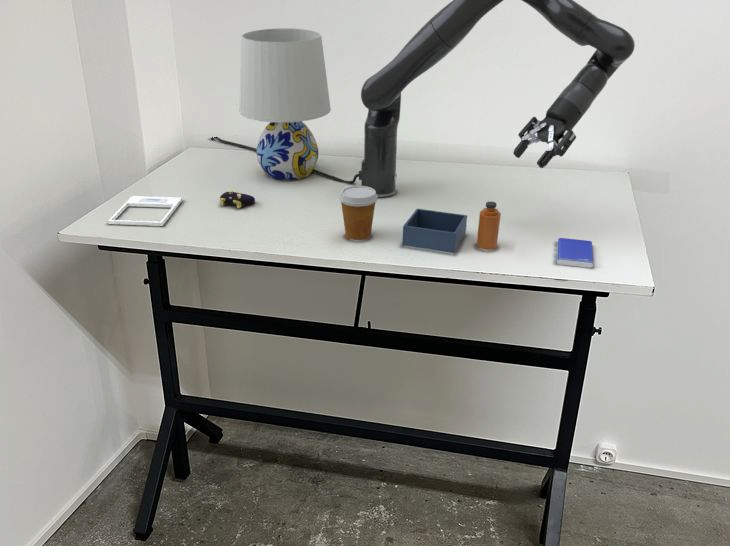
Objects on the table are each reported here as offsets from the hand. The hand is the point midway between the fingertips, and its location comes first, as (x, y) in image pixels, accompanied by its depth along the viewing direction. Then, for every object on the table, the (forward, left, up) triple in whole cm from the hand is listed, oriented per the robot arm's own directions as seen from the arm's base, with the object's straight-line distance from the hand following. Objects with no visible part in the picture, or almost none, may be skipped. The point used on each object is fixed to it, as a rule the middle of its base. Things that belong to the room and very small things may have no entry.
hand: (527, 160), depth 172 cm
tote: (-19, -11, -19) cm, 29 cm away
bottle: (-6, -10, -19) cm, 23 cm away
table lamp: (-75, +23, -20) cm, 81 cm away
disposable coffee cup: (-38, -15, -20) cm, 45 cm away
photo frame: (-98, -20, -19) cm, 102 cm away
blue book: (+15, -7, -20) cm, 26 cm away
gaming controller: (-78, -6, -20) cm, 81 cm away
